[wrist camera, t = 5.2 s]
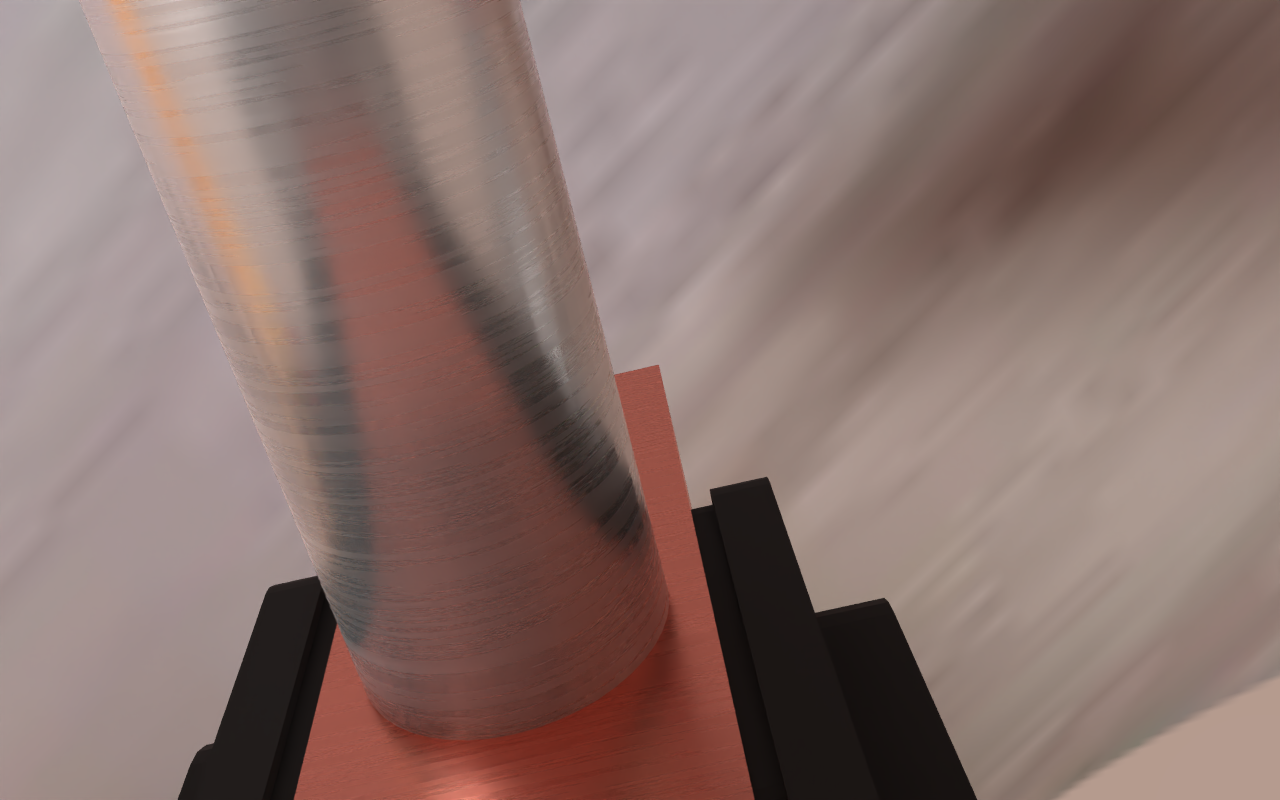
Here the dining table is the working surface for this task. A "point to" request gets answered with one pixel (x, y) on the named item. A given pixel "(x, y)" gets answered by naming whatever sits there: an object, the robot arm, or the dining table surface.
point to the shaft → (436, 398)
